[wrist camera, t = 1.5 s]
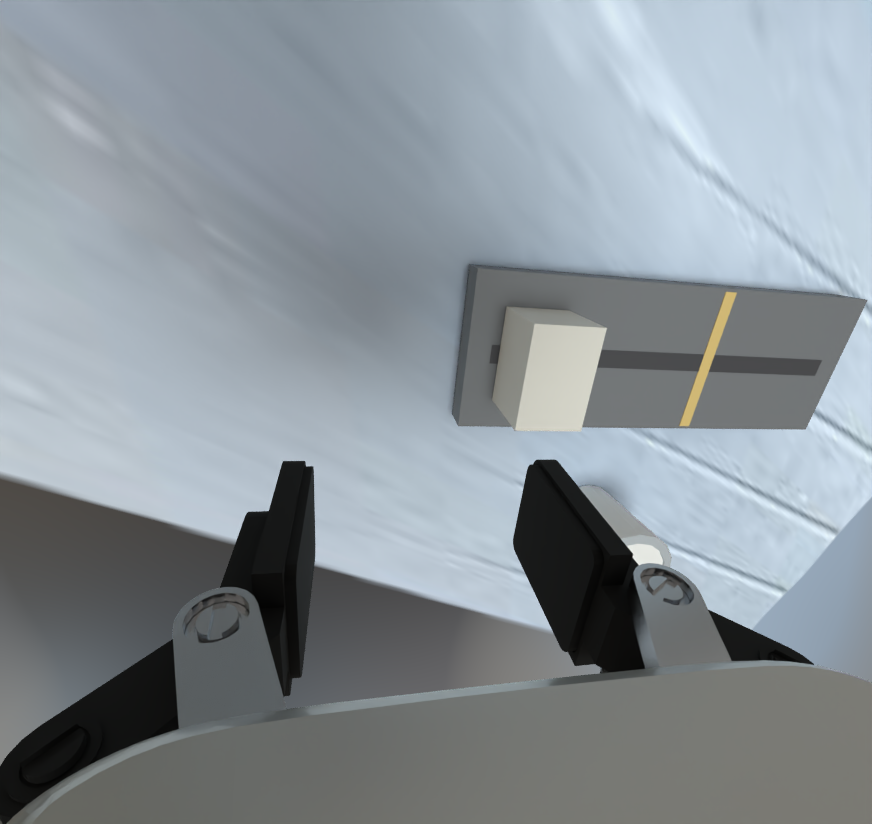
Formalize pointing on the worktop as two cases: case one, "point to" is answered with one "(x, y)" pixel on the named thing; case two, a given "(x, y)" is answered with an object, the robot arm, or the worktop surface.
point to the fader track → (667, 348)
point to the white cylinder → (629, 528)
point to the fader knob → (546, 368)
